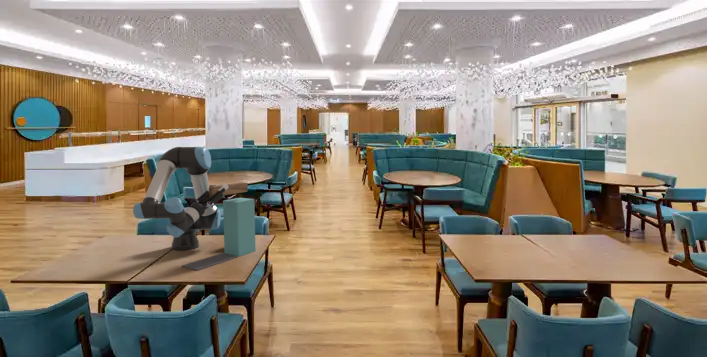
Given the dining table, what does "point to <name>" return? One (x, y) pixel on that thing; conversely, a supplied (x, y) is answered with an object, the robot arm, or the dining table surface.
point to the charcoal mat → (209, 261)
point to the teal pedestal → (239, 226)
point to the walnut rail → (230, 189)
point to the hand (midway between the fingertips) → (224, 185)
